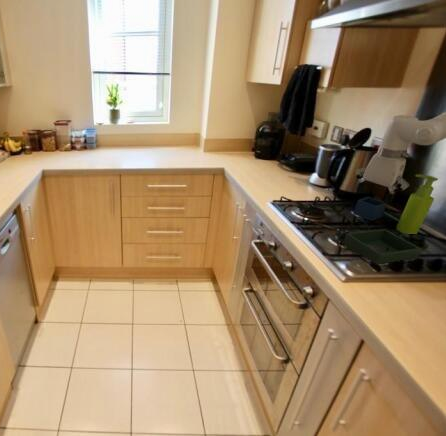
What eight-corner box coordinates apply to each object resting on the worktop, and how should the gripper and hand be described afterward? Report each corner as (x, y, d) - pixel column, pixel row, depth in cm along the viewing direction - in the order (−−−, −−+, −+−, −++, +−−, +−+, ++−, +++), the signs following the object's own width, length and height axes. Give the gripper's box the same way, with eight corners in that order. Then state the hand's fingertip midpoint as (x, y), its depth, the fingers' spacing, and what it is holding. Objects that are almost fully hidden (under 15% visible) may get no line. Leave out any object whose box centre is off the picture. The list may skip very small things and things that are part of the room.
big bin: (379, 240, 106) (384, 228, 104) (416, 261, 95) (422, 249, 93) (341, 245, 104) (346, 233, 102) (375, 267, 93) (380, 255, 91)
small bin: (363, 210, 125) (368, 196, 122) (381, 217, 120) (387, 203, 117) (352, 213, 123) (357, 200, 120) (370, 221, 118) (376, 206, 115)
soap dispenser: (399, 223, 115) (422, 172, 106) (421, 232, 110) (448, 178, 100) (388, 227, 113) (411, 174, 104) (410, 236, 108) (437, 181, 98)
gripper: (426, 158, 104) (404, 204, 113) (371, 145, 118) (355, 187, 126) (414, 161, 102) (392, 208, 110) (358, 148, 115) (343, 190, 124)
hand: (372, 197), depth 118 cm, fingers open, 9 cm apart
